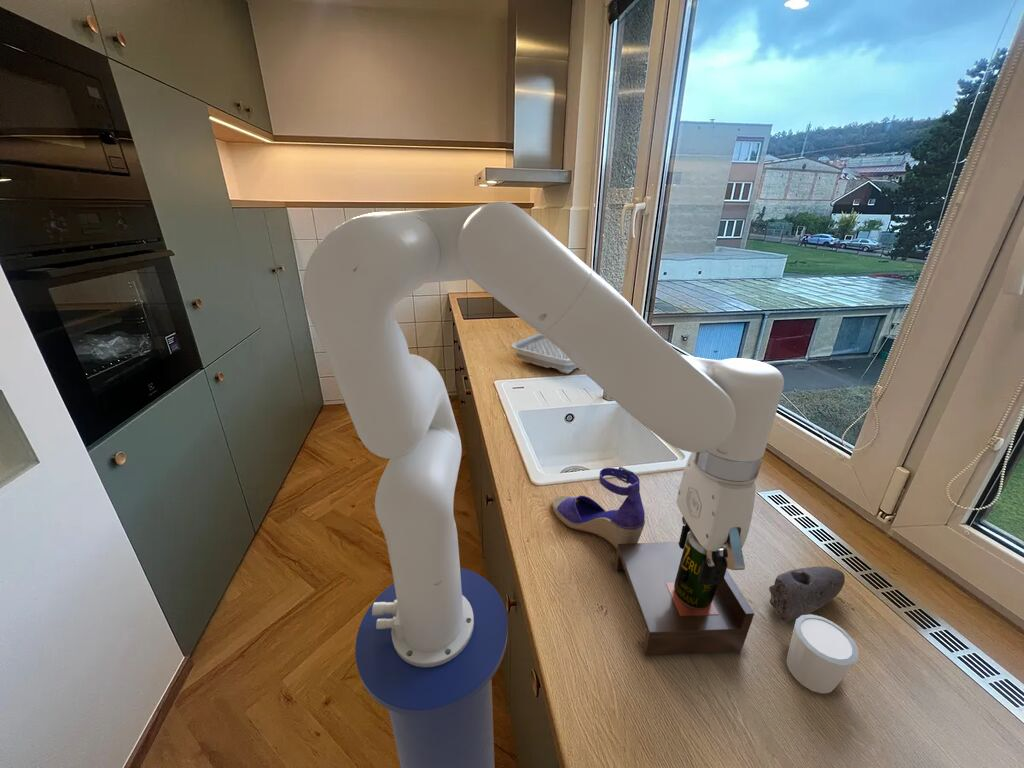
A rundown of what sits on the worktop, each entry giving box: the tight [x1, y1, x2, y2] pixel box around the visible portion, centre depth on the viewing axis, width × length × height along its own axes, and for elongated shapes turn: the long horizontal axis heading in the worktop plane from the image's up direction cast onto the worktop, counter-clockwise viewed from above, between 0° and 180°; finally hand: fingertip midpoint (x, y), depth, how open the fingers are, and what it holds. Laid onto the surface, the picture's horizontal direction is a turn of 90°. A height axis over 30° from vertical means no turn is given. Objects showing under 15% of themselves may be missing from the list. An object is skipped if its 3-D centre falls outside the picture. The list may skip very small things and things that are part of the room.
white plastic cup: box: [786, 613, 859, 695], centre depth 55 cm, size 7×7×7 cm
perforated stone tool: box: [768, 565, 846, 622], centre depth 64 cm, size 15×5×7 cm, turn 108°
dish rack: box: [510, 332, 579, 374], centre depth 167 cm, size 32×37×8 cm
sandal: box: [552, 466, 646, 551], centre depth 78 cm, size 8×20×15 cm, turn 33°
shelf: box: [614, 541, 755, 657], centre depth 64 cm, size 14×16×8 cm
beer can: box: [674, 529, 723, 610], centre depth 59 cm, size 5×5×12 cm
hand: (699, 563), depth 58 cm, fingers closed on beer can, 5 cm apart
